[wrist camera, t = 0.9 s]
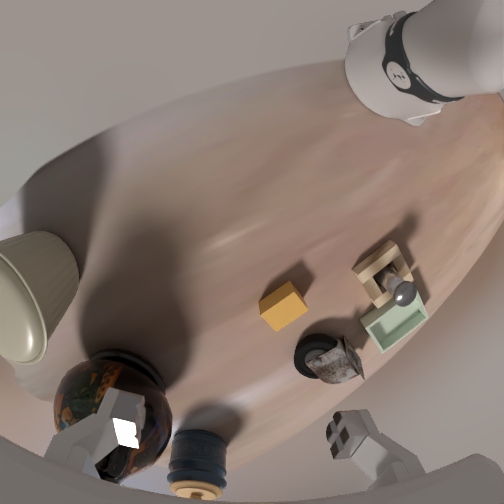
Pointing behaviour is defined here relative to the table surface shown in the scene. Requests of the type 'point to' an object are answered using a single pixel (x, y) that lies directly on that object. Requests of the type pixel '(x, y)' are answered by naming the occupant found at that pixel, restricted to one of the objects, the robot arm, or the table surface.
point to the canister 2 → (197, 465)
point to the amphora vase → (90, 398)
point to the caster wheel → (327, 359)
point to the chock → (282, 306)
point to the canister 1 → (33, 293)
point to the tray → (393, 322)
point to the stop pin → (396, 286)
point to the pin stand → (375, 264)
